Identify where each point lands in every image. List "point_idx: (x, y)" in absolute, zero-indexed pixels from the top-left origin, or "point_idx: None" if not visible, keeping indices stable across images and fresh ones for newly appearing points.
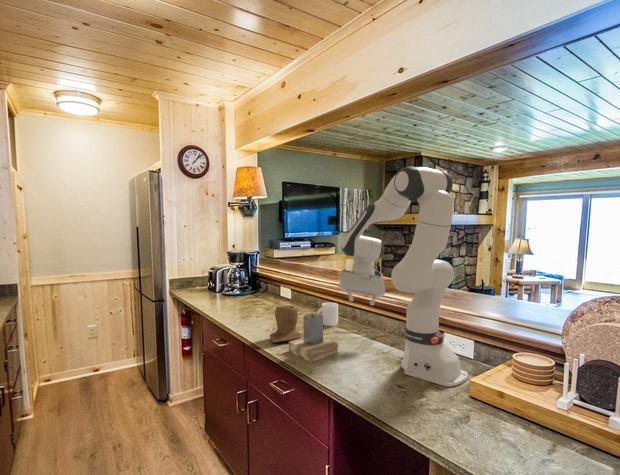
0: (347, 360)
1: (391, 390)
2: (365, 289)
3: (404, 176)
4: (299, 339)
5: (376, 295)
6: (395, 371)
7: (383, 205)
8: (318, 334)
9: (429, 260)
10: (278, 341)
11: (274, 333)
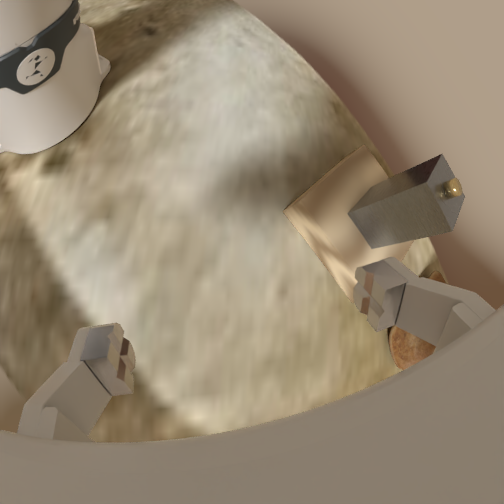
0: (252, 150)
1: (174, 23)
2: (247, 466)
3: None
4: (404, 246)
5: (25, 425)
6: (126, 79)
7: None
8: (380, 192)
9: None
10: (429, 276)
11: None
